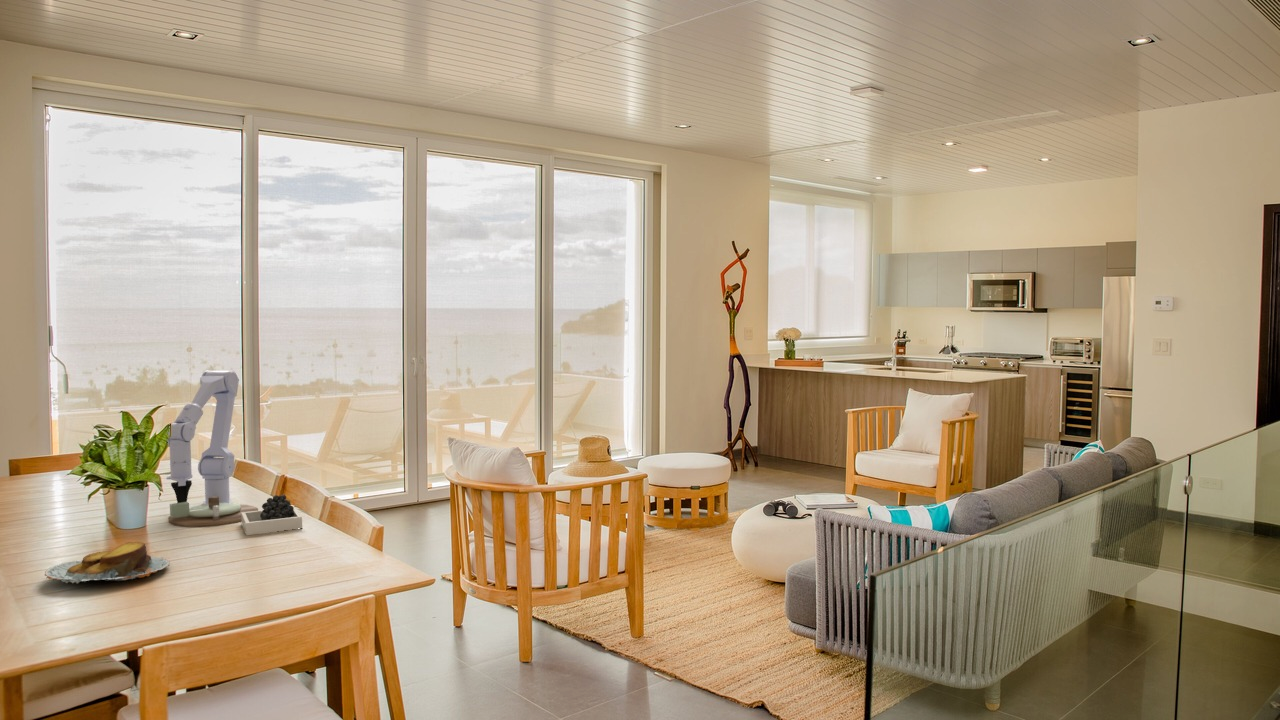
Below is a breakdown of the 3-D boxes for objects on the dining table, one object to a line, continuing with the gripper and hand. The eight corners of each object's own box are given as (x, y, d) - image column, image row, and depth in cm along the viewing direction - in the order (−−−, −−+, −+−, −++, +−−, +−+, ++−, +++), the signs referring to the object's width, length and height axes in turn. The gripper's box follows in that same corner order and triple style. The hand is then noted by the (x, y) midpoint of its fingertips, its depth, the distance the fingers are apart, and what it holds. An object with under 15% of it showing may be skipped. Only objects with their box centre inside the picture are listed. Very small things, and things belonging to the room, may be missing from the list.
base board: (167, 513, 276) (167, 494, 276) (254, 504, 288) (253, 486, 288) (169, 530, 254) (168, 510, 254) (262, 520, 267) (261, 500, 266)
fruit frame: (241, 524, 262) (241, 512, 262) (295, 518, 269) (294, 506, 269) (246, 535, 249) (245, 523, 249) (302, 528, 256) (301, 516, 256)
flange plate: (233, 503, 282) (233, 491, 282) (246, 511, 270) (246, 499, 270) (165, 512, 270) (165, 500, 269) (176, 521, 258) (176, 509, 258)
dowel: (212, 522, 263) (212, 505, 263) (219, 522, 264) (218, 505, 264) (213, 524, 262) (212, 507, 262) (219, 523, 263) (219, 506, 262)
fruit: (269, 501, 251) (290, 488, 266) (242, 510, 252) (265, 497, 267) (280, 528, 252) (301, 515, 267) (253, 538, 252) (276, 523, 267)
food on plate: (41, 574, 214) (40, 546, 214) (158, 555, 230) (158, 530, 230) (51, 601, 194) (50, 571, 193) (179, 579, 210) (178, 551, 209)
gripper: (165, 459, 274) (167, 502, 275) (166, 466, 261) (167, 511, 262) (190, 457, 278) (192, 499, 278) (192, 464, 265) (194, 508, 266)
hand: (182, 505), depth 271 cm, fingers closed
